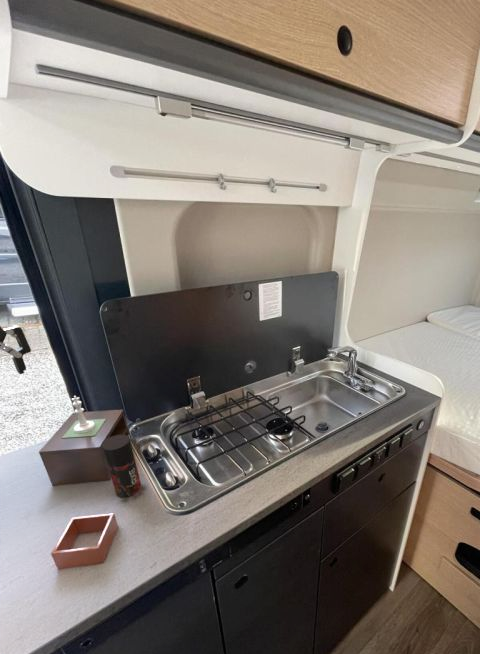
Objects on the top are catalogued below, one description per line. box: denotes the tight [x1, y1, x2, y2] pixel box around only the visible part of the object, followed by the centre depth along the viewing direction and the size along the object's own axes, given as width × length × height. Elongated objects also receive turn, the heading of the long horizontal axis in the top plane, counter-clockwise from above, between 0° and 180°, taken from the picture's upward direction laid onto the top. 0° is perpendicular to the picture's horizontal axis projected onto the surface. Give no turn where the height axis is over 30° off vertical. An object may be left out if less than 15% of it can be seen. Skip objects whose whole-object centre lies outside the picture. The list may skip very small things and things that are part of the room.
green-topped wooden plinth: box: [38, 409, 130, 486], centre depth 92 cm, size 14×18×11 cm
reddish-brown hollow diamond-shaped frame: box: [50, 512, 119, 570], centre depth 68 cm, size 9×9×4 cm
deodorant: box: [102, 435, 142, 499], centre depth 81 cm, size 6×6×15 cm
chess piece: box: [71, 395, 95, 433], centre depth 87 cm, size 5×5×10 cm
